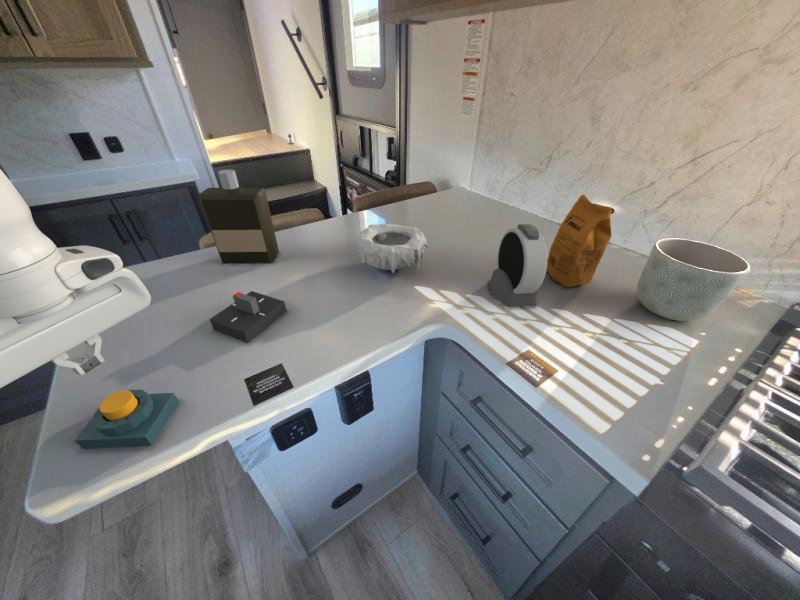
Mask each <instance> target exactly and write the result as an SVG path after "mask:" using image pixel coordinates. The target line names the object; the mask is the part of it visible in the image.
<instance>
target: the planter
mask: <svg viewBox="0 0 800 600" xmlns="http://www.w3.org/2000/svg"><path fill="white" fill-rule="evenodd" d="M751 270H752V266H751V265H750V263H749V262H748V261H747V260H746V259H744V258H743V257H742V256H740V255H739V254H736V253H734V252H732V251H730V250H728V249H725V248H723V247H719V246H717V245H714V244H710V243H707V242H702V241H699V240H693V239H686V238H677V237H676V238H674V237H671V238H668V237H667V238H662V239H659V240H657V241H655V242H654V244H653V246H652V248H651V251H650V253H649V255H648V257H647V260H646V261H645V264H644V267H643V268H642V272H641V274H640V276H639V278H638V281H637V284H636V295H637V298H638V300H639V302H640V303H641V305H642V306H643V307H644V308H645V309H646V310H648V311H650V312H651V313H653V314H655V315H656V316H659V317H661V318H663V319H668V320H672V321H677V322H689V321H690V322H691V321H696V320H700V319H702V318H704V317H706V316H708V315H709V314H711V313H713V312H714V311H715V310H716V309H717V308H718V307H719V306H720V305H721V304H722V303H723V302H724V301H725V300H726V298H727V297H728V296H729V295H730V294H731V293H732V292H733V291H734V290H735V289H736V287H738V285H739V284H740V283H741V282H742V281H743V280H744V279H745V277H747V275H748V274H749V273H750V272H751Z"/></svg>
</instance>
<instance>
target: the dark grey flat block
mask: <svg viewBox="0 0 800 600" xmlns="http://www.w3.org/2000/svg"><path fill="white" fill-rule="evenodd" d="M245 295H248V296H251V297H255V298H256V301H257V304H258V307H259V311H258V312H257V313H256V314H251V313H248V312H245V311H243V310H240V309H237V307H236V304H235V301H234V302H233V303H231V304H229V305H228V306H226V307H225V308H223V309H222V310H221V311H218V313H216V314H215V315H213V316H212V317H210V318H209V323H210V324H211V326H212V329H213V331H216V332H218V333H220V334H223V335H226V336H229V337H232V338H233V339H236V340H239V341H241V342H245V343H247V344H249V343H251V342H252V341H253V340H255V338H256V337H258V336H259V335H260V334H261V333H263V332H264V331H265V330H266V329H268V328H269V327H270V326H272V324H273V323H275V322H276V321H277V320H278V319H279V318H281V317H282V316H283V315H284V314H286V313H287V312H288V311H287V310H288V309H287V306H286V302H285V301H284V300H282V299H278V298H276V297H272V296H269V295H266V294H263V293H259V292H256V291H253V290H251V291H249V292H248V293H246V294H245Z"/></svg>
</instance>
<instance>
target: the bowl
mask: <svg viewBox="0 0 800 600" xmlns="http://www.w3.org/2000/svg"><path fill="white" fill-rule="evenodd" d="M356 241H357V243H356V248H357V251H359V254H360V257H361V260H362V263H363V264H368V265H370V266H371V267H373V268H376V269H379V270H381V271H382V270H383V271H384V270H385V271H391V273H393V274H395V272H396V270H402V269H405V268H407V267H408V268H410V267H411V265H414V264H415V266H416V268H417V270H419V267H420V261H421V259H422V258H423V256H425V250H426V249H428V246H429V245H428V240H427V238H426V236H425V235H424V233H423V232H422V231H421V230H420V229H419V228H417V227H416V226H414V225H410V226H406V225H401V224H391V223H381V224H375V223H373V224H369V226H367V227H366V228H364V229H363V230H361V231H360V233H359V236H358V237H357V239H356Z"/></svg>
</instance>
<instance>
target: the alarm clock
mask: <svg viewBox="0 0 800 600" xmlns="http://www.w3.org/2000/svg"><path fill="white" fill-rule="evenodd" d="M547 259H548V249H547V246H546V241H545V239H544V237H543V235H542V234H541V233H540V232H539V229H538V228H537V227H536V226H535V225H533V224H531V223H530V224H529V223H521V224H520V223H518V224H517V227H510V228H509V229H507V230H506V231H505V232H504V234H503V235H502V237H501V239H500V242H499V245H498V250H497V257H496V265H497V266H496V268H495V269H494V270H493V271H492V274H491V277H490V281H489V288H490V290H491V293H492V295H493V296H494V298H496V299H497V301H498V302H500V304H502V305H503V306H505V307H507V308H521V307H522V308H523V307H534V306H536V301H537V297H538V292H539V291H538V290H539V288H540V287H541V286H542V284H543V282H544V280H545V277H546V273H547V271H546V269H547Z"/></svg>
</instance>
